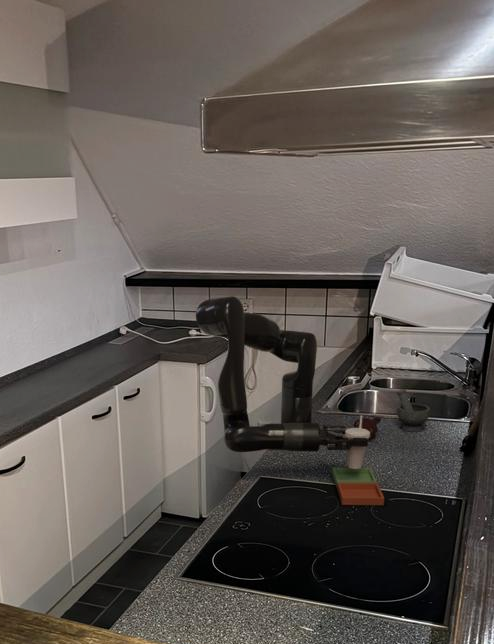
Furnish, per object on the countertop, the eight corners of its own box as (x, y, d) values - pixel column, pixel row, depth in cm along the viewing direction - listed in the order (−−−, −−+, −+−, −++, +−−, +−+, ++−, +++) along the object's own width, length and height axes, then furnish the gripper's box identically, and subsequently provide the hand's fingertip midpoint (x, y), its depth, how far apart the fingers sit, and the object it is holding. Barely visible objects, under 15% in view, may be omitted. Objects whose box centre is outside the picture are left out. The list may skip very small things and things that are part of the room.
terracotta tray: (336, 489, 198) (337, 482, 197) (377, 489, 197) (377, 482, 196) (341, 504, 188) (342, 497, 188) (383, 505, 188) (384, 498, 187)
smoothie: (367, 471, 198) (372, 420, 193) (342, 469, 199) (346, 418, 194) (366, 462, 204) (371, 412, 198) (341, 461, 205) (346, 411, 200)
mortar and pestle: (434, 428, 242) (437, 392, 238) (416, 435, 237) (420, 397, 233) (403, 421, 251) (406, 385, 246) (386, 427, 245) (389, 391, 241)
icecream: (365, 427, 225) (391, 420, 235) (344, 416, 229) (371, 410, 239) (357, 448, 228) (383, 440, 238) (337, 437, 233) (364, 429, 243)
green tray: (332, 474, 208) (332, 467, 207) (370, 474, 207) (370, 467, 206) (336, 488, 199) (336, 481, 198) (376, 488, 198) (377, 481, 197)
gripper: (303, 431, 192) (371, 432, 190) (299, 415, 205) (362, 416, 203) (302, 459, 194) (368, 460, 193) (298, 441, 208) (360, 442, 206)
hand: (365, 437), depth 198 cm, fingers closed on smoothie, 6 cm apart
